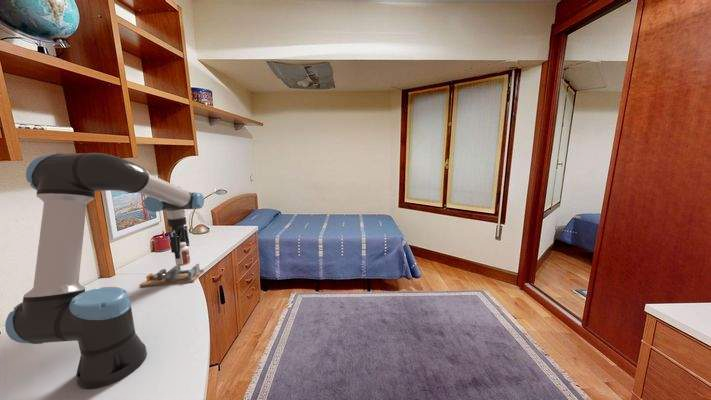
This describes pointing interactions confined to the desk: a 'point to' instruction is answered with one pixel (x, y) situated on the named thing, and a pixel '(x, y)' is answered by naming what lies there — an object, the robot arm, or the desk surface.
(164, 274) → the pin
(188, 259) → the pill bottle
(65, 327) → the robot arm
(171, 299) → the desk surface
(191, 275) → the mount
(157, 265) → the desk surface
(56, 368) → the desk surface
